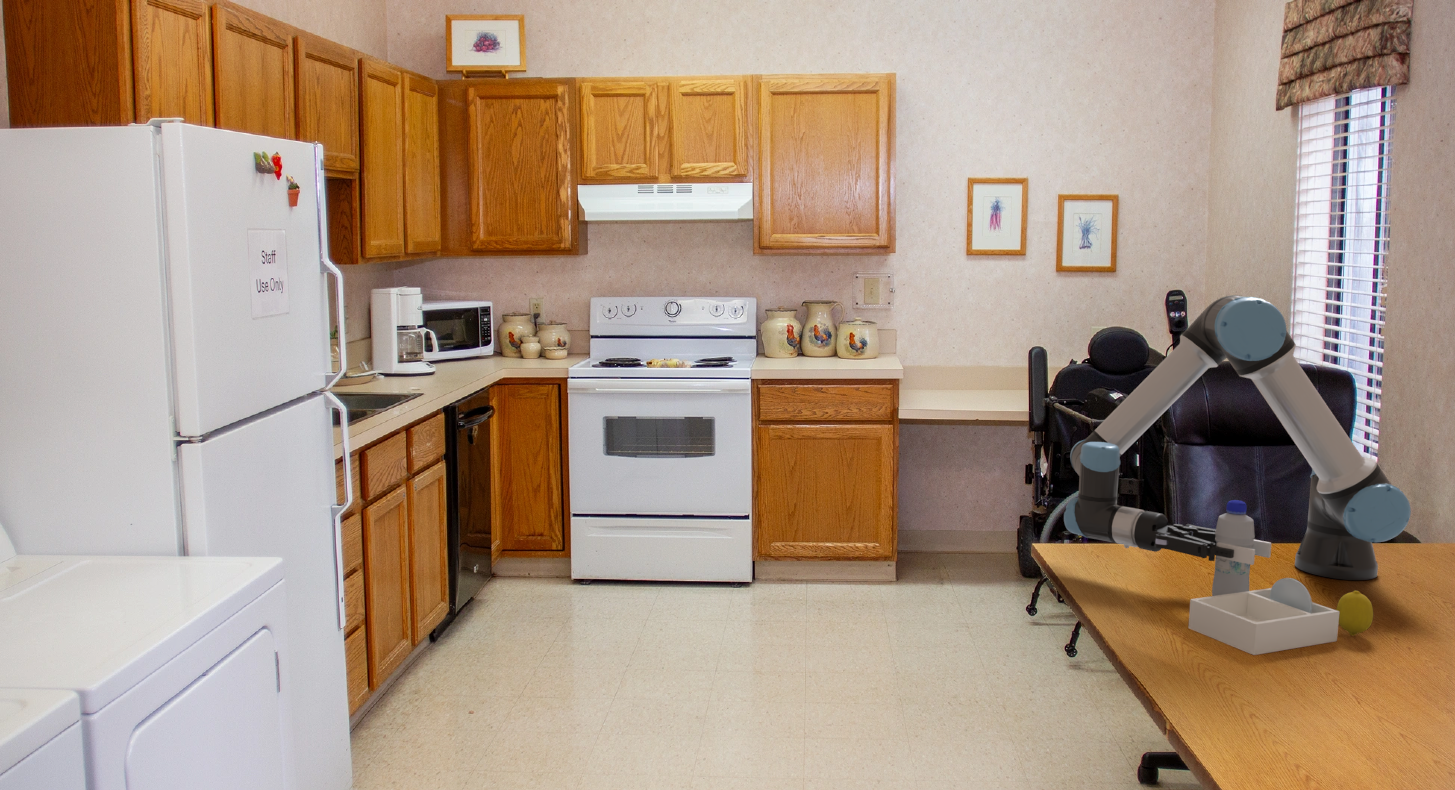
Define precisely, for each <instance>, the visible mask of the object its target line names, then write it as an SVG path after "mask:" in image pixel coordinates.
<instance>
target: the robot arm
mask: <svg viewBox="0 0 1455 790" xmlns="http://www.w3.org/2000/svg"><path fill="white" fill-rule="evenodd" d="M1179 340H1180V341H1179V344H1178V345H1176V347H1175V348H1174V349H1173V350H1172V351H1171V352H1170V353H1169V354H1168V355H1167V356H1166V357H1165V358H1164V359H1163V360H1162V361H1161V362H1160V363H1159V364H1158V366H1156V367H1155V368H1154V369H1153V370H1152V372H1150V373H1149V375H1147V377H1146V378H1144V379H1143V380H1142V382H1141V383H1140V384H1139V385H1138V386H1137V387H1136V388H1134V389H1133V391H1132V392H1131V393H1130V394H1129V395H1128V396H1127V397H1126V398H1125V399H1124V400H1122V402H1121V403H1120V404H1119V405H1118V406H1117V407H1116V408H1115V409H1114V410H1113V411H1112V412H1111V413H1110V414H1109V415H1108V416H1107V417H1105V419H1104V420H1103V421H1102V422H1101V423H1100V424H1099V425H1098V426H1097V428H1095V429H1094V430H1093V431H1092V432H1091V433H1090V435H1088V437H1086V438H1085V439H1083V440H1079V441H1078V442H1076V443H1075V444H1074V446H1073V447H1072V448H1071V451H1070V455H1069V457H1070V459H1069V460H1070V464H1071V466H1072V468H1073V470H1074V471H1075V473H1077V475H1078V476H1079V477H1078V478H1079V479H1078V481H1079V482H1078V496H1077V497H1074V498H1071V499H1070V500H1069V501H1068V502H1067V503H1066V506H1065V511H1064V512H1063V522H1064V526H1065V528H1066V530H1067V531H1069V532H1070V533H1072V534H1074V535H1077V536H1082V537H1084V538H1087V539H1094V540H1100V541H1104V542H1109V543H1113V544H1119V545H1123V547H1124V548H1125V549H1129V548H1130V547H1133V548H1139V550H1146V551H1150V552H1155V553H1157V552H1160V551H1161V550H1169V551H1171V552H1172V551H1173V552H1177V553H1180V554H1185V555H1190V556H1194V557H1197V558H1201V559H1207V558H1208V561H1209V562H1215V559H1216V557H1217V558H1222V559H1227V560H1231V561H1236V562H1241V563H1246V564H1250V566H1253V565H1255V556H1256V557H1257V556H1258V557H1263V558H1268V559H1269V558H1271V554H1272V542H1270V541H1264V540H1259V539H1256V538H1254V544H1253V546H1252V548H1251V549H1250V548H1245V547H1240V546H1235V545H1230V544H1225V543H1220V542H1218V543H1216V540H1215V537H1216V535H1215V531H1216V528H1210V527H1209V528H1208V527H1204V526H1203V527H1202V526H1198V525H1194V524H1190V523H1187V524H1185V525H1184V524H1179V523H1173V525H1170V523H1169V520H1168V518H1167V516H1166V515H1165V514H1163V513H1159V512H1155V511H1151V510H1149V511H1148V510H1144V509H1139V508H1135V507H1129V506H1124V505H1118V490H1119V489H1118V488H1119V477H1120V476H1119V475H1120V465H1121V459H1120V457H1121V456H1122V455H1123V454H1124V453H1125V452H1126V451H1127V450H1128V449H1129V448H1130V447H1131V446H1132V445H1133V444H1134V443H1135V442H1136V441H1137V440H1138V439H1139V438H1140V437H1141V436H1142V435H1144V433H1145V432H1146V431H1147V430H1148V429H1149V428H1150V427H1151V426H1152V425H1153V424H1154V423H1155V422H1157V420H1158V419H1159V418H1160V417H1161V416H1162V415H1163V414H1164V413H1165V412H1166V411H1167V410H1168V409H1169V408H1170V407H1172V405H1173V404H1174V403H1175V402H1176V401H1178V399H1179V398H1181V396H1183V394H1184V393H1186V391H1187V390H1188V389H1189V388H1191V386H1193V385H1194V384H1195V382H1196V381H1197V380H1199V378H1201V377H1202V375H1204V373H1205V372H1207V371H1208V369H1210V368H1211V369H1212V368H1217V367H1219V365H1220V364H1222V362H1224V361H1225V360H1226V359H1227V361H1228V362H1229V363H1230V364H1231V365H1230V366H1232V368H1233V369H1234V371H1235V372H1236V373H1237V375H1238V376H1239V377H1240V378H1246V379H1250V380H1251V381H1252V382H1253V384H1254V385H1255V388H1257V390H1258V391H1259V392H1260V394H1261V395H1262V397H1263V398H1264V400H1265V401H1266V403H1267V404H1268V405H1269V407H1270V409H1271V410H1272V412H1273V413H1274V414H1275V416H1276V418H1277V419H1278V420H1279V422H1280V423H1281V425H1282V426H1283V428H1284V429H1285V431H1286V432H1287V434H1288V435H1289V437H1290V438H1291V440H1292V441H1293V442H1294V444H1295V446H1297V448H1298V450H1299V451H1300V453H1301V454H1302V455H1303V457H1304V458H1305V459H1306V460H1305V461H1307V463H1308V465H1309V466H1310V467H1311V470H1312V471H1311V474H1310V489H1309V500H1308V501H1309V502H1308V515H1307V527H1306V531H1305V534H1304V536H1303V538H1302V540H1301V542H1300V544H1299V547H1298V549H1297V552H1296V553H1295V559H1294V566H1295V567H1296V568H1297V569H1298V570H1300V571H1302V572H1306V573H1308V574H1310V575H1311V574H1312V575H1315V576H1319V577H1323V578H1329V579H1336V580H1345V581H1346V580H1347V581H1365V580H1366V581H1367V580H1372V579H1375V578H1377V576H1378V572H1379V571H1378V570H1379V564H1378V562H1377V559H1376V554H1375V551H1374V546H1373V543H1381V542H1387V541H1390V540H1391V539H1394V538H1396V537H1397V536H1399V535H1400V534H1401V533H1402V532H1403V531H1404V529H1406V527H1407V525H1408V523H1409V521H1410V518H1411V513H1412V508H1411V504H1410V501H1409V499H1408V497H1407V496H1406V494H1405V493H1404V492H1403V491H1402V490H1401V489H1400V488H1399V487H1397V486H1395V485H1393V484H1392V483H1391V481H1390V480H1389V478H1387V476H1386V474H1385V473H1384V472H1383V470H1382V469H1381V468H1380V466H1379V464H1378V463H1377V461H1376V460H1375V459H1373V458H1368V457H1363V456H1362V455H1361V453H1360V452H1359V450H1358V449H1357V448H1356V446H1355V444H1354V443H1353V442H1352V439H1351V438H1350V437H1349V436H1348V434H1347V433H1346V431H1345V430H1344V428H1343V427H1342V425H1341V423H1340V422H1339V421H1338V420H1337V418H1336V416H1335V415H1334V414H1333V412H1332V411H1331V409H1330V408H1329V406H1328V405H1327V403H1326V402H1325V400H1324V399H1323V397H1322V396H1321V394H1320V393H1319V392H1318V390H1317V388H1316V387H1315V386H1314V384H1313V383H1312V381H1311V380H1310V377H1308V375H1307V374H1306V372H1305V371H1304V370H1303V368H1302V366H1301V365H1300V364H1299V362H1298V361H1297V359H1296V358H1295V356H1294V352H1295V349H1296V343H1295V340H1294V339H1293V338H1292V337H1291V334H1289V332H1288V330H1287V323H1286V320H1285V318H1284V315H1283V313H1282V312H1281V311H1280V310H1279V309H1278V308H1277V307H1276V306H1275V305H1274V304H1272V303H1271V302H1269V301H1267V300H1265V299H1263V298H1260V297H1255V296H1242V295H1236V294H1233V295H1225V296H1223V297H1220V298H1218V299H1216V300H1215V301H1213V302H1211V303H1210V304H1209V305H1208V306H1207V307H1206V308H1205V309H1204V310H1203V311H1202V312H1201V313H1200V314H1199V315H1198V317H1196V318H1195V320H1194V321H1193V322H1192V323H1191V324H1190V325H1189V326H1188V327H1187V328H1186V330H1185V331H1184V332H1182V333H1181V335H1180V336H1179ZM1216 545H1217V546H1216Z"/></svg>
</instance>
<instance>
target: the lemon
mask: <svg viewBox="0 0 1455 790" xmlns="http://www.w3.org/2000/svg"><path fill="white" fill-rule="evenodd" d="M1335 610H1337V611H1340V612H1339V623H1338V626H1340V627H1341V629H1343V630H1344V631H1346V632H1347V633H1348V634H1349V635H1350V636H1352V637H1355V636H1356V635H1358V634H1359V633H1364V632H1365V631H1367V630H1368V629H1369V628H1370V627H1371V625H1372V622H1373V619H1374V609H1373V605H1372V601H1370V599H1369V598H1368V597H1367V596H1366V595H1365V594H1362V593H1361V592H1360V591H1359V590H1353V591H1352V592H1348V593H1345V594H1343V595H1342V596H1341V597H1340V599H1339V600H1338V603H1337V605H1336V609H1335Z"/></svg>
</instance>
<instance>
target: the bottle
mask: <svg viewBox="0 0 1455 790" xmlns="http://www.w3.org/2000/svg"><path fill="white" fill-rule="evenodd" d="M1225 507H1226V509H1225V511H1226V513H1223V514H1220V515H1218V518H1217V522H1216V527H1215V529H1216V531H1215V535H1216V537H1215V540H1216V543H1218V542H1220V543H1225V544H1230V545H1235V546H1240V547H1245V548H1250V549H1251V548H1252V546H1253V544H1254V539H1256V538H1255V536H1256V534H1255V524H1254V523H1255V522H1254V519H1253V518H1252V517H1250V516H1248V515H1247V508H1248V507H1247V503H1246V502H1245V501H1243V500H1238V499H1233V500H1229V501H1228V502H1227V503H1226V506H1225ZM1216 546H1217V545H1216ZM1250 570H1251V565H1250V564H1246V563H1241V562H1236V561H1231V560H1227V559H1222V558H1217V557H1216V556H1215V560H1214V574H1213V581H1212V588H1211V589H1212V590H1211V595H1212V596H1217V595H1225V594H1232V593H1239V592H1246V591H1250V574H1251V573H1250Z"/></svg>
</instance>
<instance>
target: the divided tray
mask: <svg viewBox="0 0 1455 790" xmlns="http://www.w3.org/2000/svg"><path fill="white" fill-rule="evenodd" d="M1339 612H1340V611H1337V610H1336V609H1333V608H1331V607H1328V606H1325V605H1322V604H1319V603H1316V602H1313V601H1312V597H1311V595H1310V591H1309V590H1308V589H1307V587H1306V586H1305V585H1304V584H1303V583H1302V582H1301V581H1299V580H1298V579H1296V578H1292V577H1285V578H1280V579H1278V580H1276V581H1275V582H1274V584H1273V585H1272V586H1271V587H1270V588H1269V587H1267V588H1262V589H1255V590H1249V591H1246V592H1239V593H1232V594H1225V595H1217V596H1204V597H1197V598H1191V599H1190V601H1189V613H1188V614H1189V615H1188V629H1190V630H1191V631H1194V632H1197V633H1199V634H1202V635H1204V636H1206V637H1209V638H1211V639H1214V640H1216V641H1219V642H1221V643H1224V644H1225V645H1228V646H1230V647H1233V648H1236V649H1238V650H1240V651H1243V652H1245V653H1247V654H1250V655H1253V656H1257V655H1263V654H1268V653H1275V652H1279V651H1284V650H1285V651H1286V650H1292V649H1296V648H1297V649H1299V648H1303V647H1310V646H1315V645H1321V644H1328V643H1333V642H1337V641H1338V631H1339Z"/></svg>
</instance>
